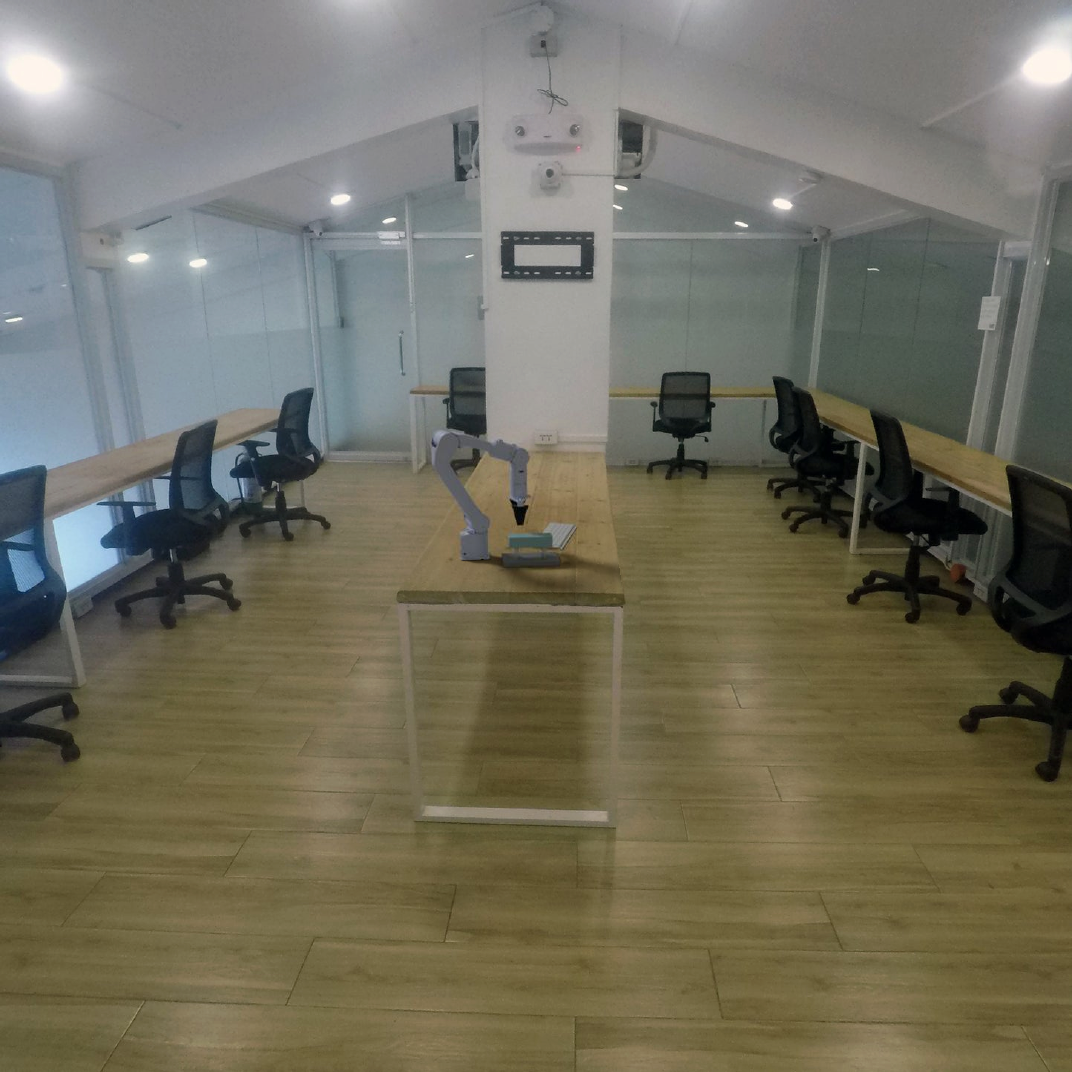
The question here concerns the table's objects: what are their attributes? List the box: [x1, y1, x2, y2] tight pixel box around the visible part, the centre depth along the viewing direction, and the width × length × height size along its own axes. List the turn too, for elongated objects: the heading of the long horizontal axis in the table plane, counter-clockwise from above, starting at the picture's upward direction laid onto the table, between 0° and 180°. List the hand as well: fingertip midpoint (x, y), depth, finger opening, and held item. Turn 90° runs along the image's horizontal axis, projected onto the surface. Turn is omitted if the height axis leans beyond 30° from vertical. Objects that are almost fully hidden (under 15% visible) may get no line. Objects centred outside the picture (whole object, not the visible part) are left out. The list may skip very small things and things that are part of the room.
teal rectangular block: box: [507, 532, 553, 549], centre depth 244 cm, size 14×4×4 cm, turn 96°
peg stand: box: [501, 547, 560, 568], centre depth 245 cm, size 18×10×6 cm, turn 96°
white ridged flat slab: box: [535, 522, 578, 551], centre depth 273 cm, size 31×3×12 cm
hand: (519, 522), depth 253 cm, fingers open, 7 cm apart
